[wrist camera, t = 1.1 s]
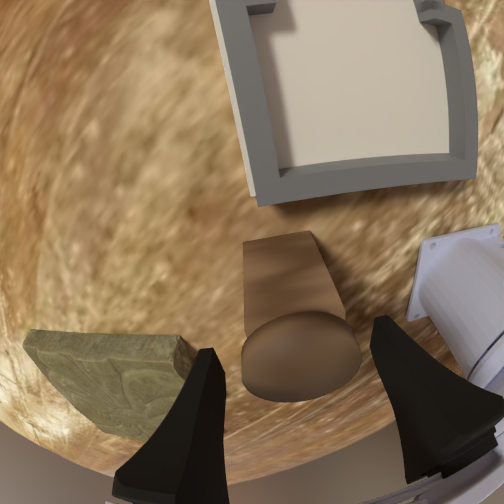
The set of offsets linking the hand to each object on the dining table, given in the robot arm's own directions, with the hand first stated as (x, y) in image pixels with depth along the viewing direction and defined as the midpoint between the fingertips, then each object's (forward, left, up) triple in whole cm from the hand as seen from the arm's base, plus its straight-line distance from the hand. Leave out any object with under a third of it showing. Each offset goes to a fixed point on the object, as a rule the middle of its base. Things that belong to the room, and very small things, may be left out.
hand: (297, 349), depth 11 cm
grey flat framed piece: (-6, -16, -7) cm, 18 cm away
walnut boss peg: (0, 0, -7) cm, 7 cm away
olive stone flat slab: (+18, +14, -8) cm, 24 cm away
